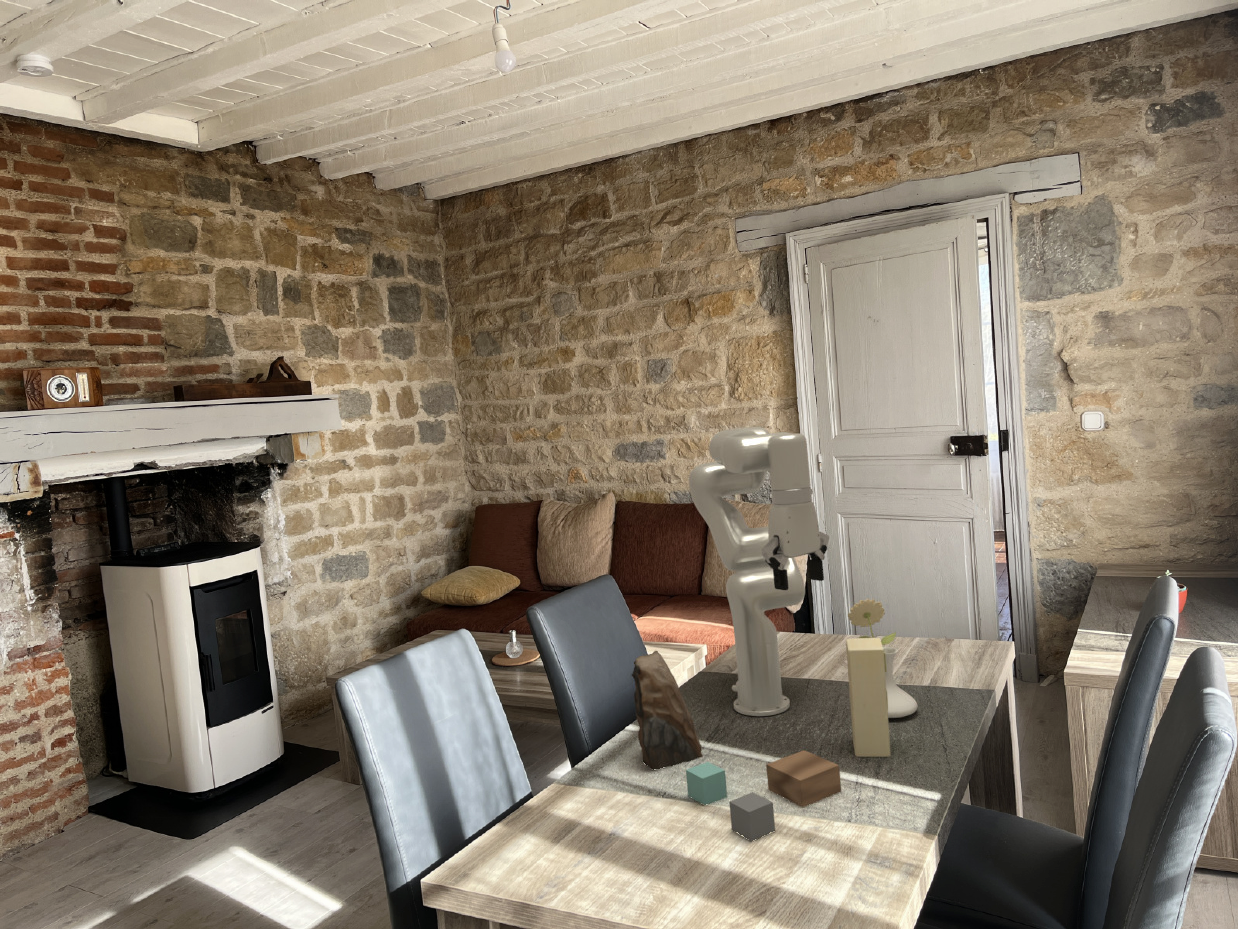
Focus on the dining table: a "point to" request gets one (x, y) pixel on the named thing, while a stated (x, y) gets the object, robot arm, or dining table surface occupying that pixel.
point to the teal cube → (706, 783)
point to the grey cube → (752, 816)
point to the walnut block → (803, 778)
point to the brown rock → (662, 715)
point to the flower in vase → (897, 698)
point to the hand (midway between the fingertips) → (799, 584)
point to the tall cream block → (868, 697)
